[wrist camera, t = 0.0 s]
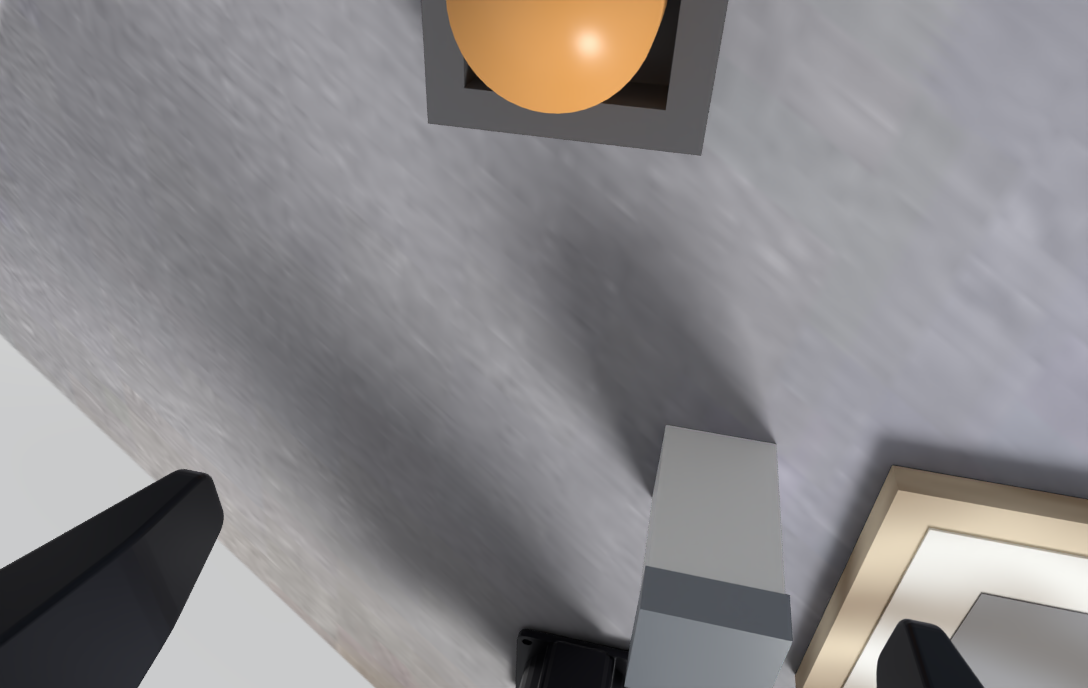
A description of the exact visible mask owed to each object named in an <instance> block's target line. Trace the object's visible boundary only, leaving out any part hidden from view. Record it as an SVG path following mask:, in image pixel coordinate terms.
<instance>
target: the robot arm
mask: <svg viewBox="0 0 1088 688" xmlns="http://www.w3.org/2000/svg"><path fill="white" fill-rule="evenodd" d="M223 520H224V513H223V509H222V506H221V503H220V500H219V497H218V494H217V491H216V488H215V485H214V482H213V480H212V478H211V477H210V476H209V475H208V474H206V473H202V472H197V471H192V470H187V469H181V470H177V471H174V472H172V473H170V474H169V475H167V476H165V477H163V478H161V479H160V480H158V481H156V482H154V483H153V484H151V485H149V486H147V487H145V488H144V489H142V490H140V491H138V492H137V493H135V494H133V495H131V496H129V497H128V498H126V499H124V500H122V501H121V502H119V503H117V504H115V505H114V506H112V507H110V508H108V509H106V510H105V511H103V512H101V513H99V514H98V515H96V516H94V517H92V518H91V519H89V520H87V521H85V522H83V523H82V524H80V525H78V526H76V527H74V528H73V529H71V530H69V531H67V532H66V533H64V534H62V535H61V536H59V537H57V538H55V539H53V540H51V541H50V542H48V543H46V544H44V545H43V546H41V547H39V548H37V549H35V550H34V551H32V552H30V553H28V554H27V555H25V556H23V557H21V558H19V559H18V560H16V561H14V562H12V563H11V564H9V565H7V566H5V567H3V568H2V569H0V688H138V686H139V685H140V683H141V681H142V680H143V678H144V676H145V674H146V673H147V671H148V670H149V668H150V667H151V665H152V663H153V662H154V660H155V658H156V657H157V655H158V653H159V652H160V650H161V649H162V647H163V645H164V643H165V642H166V640H167V638H168V637H169V635H170V633H171V631H172V630H173V628H174V626H175V624H176V622H177V620H178V618H179V616H180V614H181V612H182V610H183V608H184V606H185V604H186V601H187V599H188V597H189V595H190V593H191V591H192V589H193V587H194V585H195V583H196V581H197V579H198V577H199V575H200V573H201V570H202V568H203V566H204V564H205V562H206V560H207V558H208V556H209V554H210V552H211V550H212V548H213V546H214V543H215V541H216V539H217V537H218V535H219V533H220V531H221V528H222V525H223ZM628 655H629V652H627V651H623V650H619V649H614V648H610V647H605V646H601V645H596V644H592V643H587V642H583V641H578V640H574V639H570V638H565V637H561V636H556V635H552V634H547V633H543V632H538V631H534V630H529V629H522V630H521V631H520V632H519V635H518V639H517V661H516V688H628V687H624V685H625V677H626V670H627V663H628ZM876 683H877V688H984V686H983V685H982V683H981V682H980V681H979V679H978V678H977V676H976V675H975V674H974V672H973V671H972V669H971V668H970V667H969V665H968V664H967V662H966V661H965V660H964V658H963V657H962V655H961V654H960V653H959V651H958V650H957V648H956V647H955V646H954V644H953V643H952V641H951V640H950V639H949V637H948V636H947V634H946V633H945V632H944V631H943V630H942V629H941V628H940V627H938V626H937V625H934V624H931V623H926V622H922V621H917V620H912V619H903V620H901V621H899V622H898V624H897V625H896V627H895V629H894V630H893V632H892V634H891V635H890V637H889V639H888V641H887V642H886V644H885V646H884V648H883V649H882V651H881V653H880V655H879V658H878V662H877V669H876Z"/></svg>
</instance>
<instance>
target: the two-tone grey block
mask: <svg viewBox="0 0 1088 688" xmlns="http://www.w3.org/2000/svg"><path fill="white" fill-rule="evenodd" d="M792 642H793V638H792V623H791V607H790V595H787V594H785V582H784V565H783V548H782V530H781V513H780V496H779V479H778V462H777V445H776V444H773V443H767V442H762V441H756V440H750V439H744V438H739V437H733V436H727V435H722V434H716V433H710V432H704V431H699V430H693V429H687V428H682V427H676V426H670V425H666V427H665V432H664V438H663V443H662V448H661V454H660V459H659V464H658V469H657V475H656V480H655V485H654V491H653V496H652V503H651V510H650V518H649V526H648V533H647V541H646V549H645V557H644V564H643V572H642V580H641V587H640V595H639V601H638V606H637V611H636V616H635V621H634V626H633V631H632V636H631V641H630V648H629V655H628V663H627V670H626V677H625V685H624V687H628V688H773V686H774V683H775V681H776V679H777V677H778V674H779V672H780V670H781V667H782V665H783V663H784V660H785V658H786V656H787V654H788V651H789V649H790V647H791V644H792Z"/></svg>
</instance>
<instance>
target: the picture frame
mask: <svg viewBox="0 0 1088 688" xmlns="http://www.w3.org/2000/svg"><path fill="white" fill-rule="evenodd" d="M903 619H912V620H917V621H922V622H926V623H931V624H934V625H937V626H938V627H940V628H941V629H942V630H943V631H944V632H945V633H946V634H947V636H948V637H949V639H950V640H951V641H952V643H953V644H954V646H955V647H956V648H957V650H958V651H959V653H960V654H961V655H962V657H963V658H964V660H965V661H966V662H967V664H968V665H969V667H970V668H971V669H972V671H973V672H974V674H975V675H976V676H977V678H978V679H979V681H980V682H981V683H982V685H983V686H984V688H1088V500H1087V499H1082V498H1076V497H1070V496H1065V495H1059V494H1053V493H1048V492H1042V491H1036V490H1030V489H1025V488H1019V487H1013V486H1008V485H1002V484H996V483H991V482H985V481H979V480H973V479H968V478H962V477H956V476H951V475H945V474H939V473H934V472H928V471H922V470H916V469H911V468H905V467H899V466H894V465H892V467H891V469H890V471H889V474H888V476H887V478H886V480H885V482H884V484H883V487H882V489H881V491H880V493H879V495H878V497H877V500H876V502H875V504H874V506H873V508H872V510H871V513H870V515H869V517H868V519H867V521H866V523H865V526H864V528H863V530H862V532H861V534H860V536H859V539H858V541H857V543H856V545H855V547H854V549H853V552H852V554H851V556H850V558H849V560H848V562H847V565H846V567H845V569H844V571H843V573H842V575H841V578H840V580H839V582H838V584H837V586H836V588H835V591H834V593H833V595H832V597H831V599H830V601H829V604H828V606H827V608H826V610H825V612H824V614H823V617H822V619H821V621H820V623H819V625H818V627H817V630H816V632H815V634H814V636H813V638H812V640H811V643H810V645H809V647H808V649H807V651H806V653H805V656H804V658H803V660H802V662H801V664H800V666H799V669H798V671H797V673H796V675H795V682H796V688H877V683H876V669H877V662H878V658H879V655H880V653H881V651H882V649H883V648H884V646H885V644H886V642H887V641H888V639H889V637H890V635H891V634H892V632H893V630H894V629H895V627H896V625H897V624H898V622H899V621H901V620H903Z"/></svg>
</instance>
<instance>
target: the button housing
mask: <svg viewBox="0 0 1088 688" xmlns="http://www.w3.org/2000/svg"><path fill="white" fill-rule="evenodd" d="M727 5H728V0H668V1H667V6H666V9H665V12H664V15H663V18H662V21H661V23H660V26H659V28H658V31H657V34H656V36H655V39H654V41H653V44H652V46H651V48H650V50H649V52H648V55H647V57H646V59H645V60H644V62H643V63H642V65H641V67H640V68H639V70H638V71H637V72H636V74H635V75H634V76H633V77H632V79H631V80H630V81H629V82H628V83H627V84H626V85H625V86H624V87H623V88H622V89H621V90H620V91H618V92H617V93H615V94H614V95H613V96H611V97H610V98H609V99H607V100H605V101H603V102H601V103H599V104H598V105H595V106H593V107H590V108H587V109H585V110H580V111H576V112H572V113H560V114H556V113H543V112H537V111H532V110H529V109H526V108H523V107H520V106H518V105H516V104H514V103H511V102H509V101H507V100H506V99H504V98H503V97H501V96H499V95H498V94H497V93H495V92H494V91H493V90H492V89H490V88H489V87H488V86H487V85H486V84H485V83H484V82H483V81H482V80H481V79H480V78H479V77H478V76H477V75H476V74H475V72H474V71H473V70H472V68H471V67H470V66H469V65H468V63H467V61H466V60H465V58H464V56H463V55H462V53H461V51H460V49H459V47H458V45H457V43H456V40H455V38H454V35H453V32H452V29H451V26H450V22H449V17H448V12H447V4H446V0H421V6H422V24H423V41H424V59H425V77H426V94H427V112H428V123H429V124H438V125H446V126H455V127H463V128H471V129H480V130H488V131H497V132H505V133H514V134H522V135H531V136H539V137H547V138H556V139H564V140H573V141H581V142H590V143H598V144H607V145H615V146H623V147H632V148H640V149H649V150H657V151H666V152H674V153H682V154H691V155H699V156H701V153H702V147H703V142H704V136H705V130H706V125H707V119H708V113H709V107H710V102H711V96H712V90H713V85H714V79H715V73H716V68H717V62H718V56H719V51H720V45H721V39H722V33H723V28H724V22H725V16H726V11H727Z"/></svg>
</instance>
